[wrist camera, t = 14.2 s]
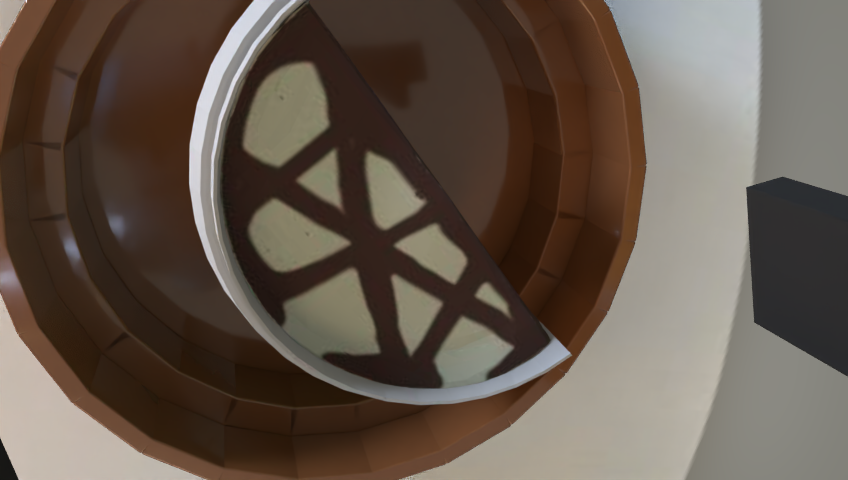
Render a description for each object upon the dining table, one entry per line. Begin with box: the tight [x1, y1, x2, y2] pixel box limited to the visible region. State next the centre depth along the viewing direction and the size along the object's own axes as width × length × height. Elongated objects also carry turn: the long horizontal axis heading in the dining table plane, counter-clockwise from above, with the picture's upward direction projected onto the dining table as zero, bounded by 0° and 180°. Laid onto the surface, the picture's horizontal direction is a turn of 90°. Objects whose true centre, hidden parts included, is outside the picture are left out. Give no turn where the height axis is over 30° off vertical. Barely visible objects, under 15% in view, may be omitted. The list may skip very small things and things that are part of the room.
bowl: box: [0, 0, 647, 480], centre depth 26 cm, size 19×19×6 cm
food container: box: [189, 0, 572, 405], centre depth 23 cm, size 12×6×10 cm, turn 35°
